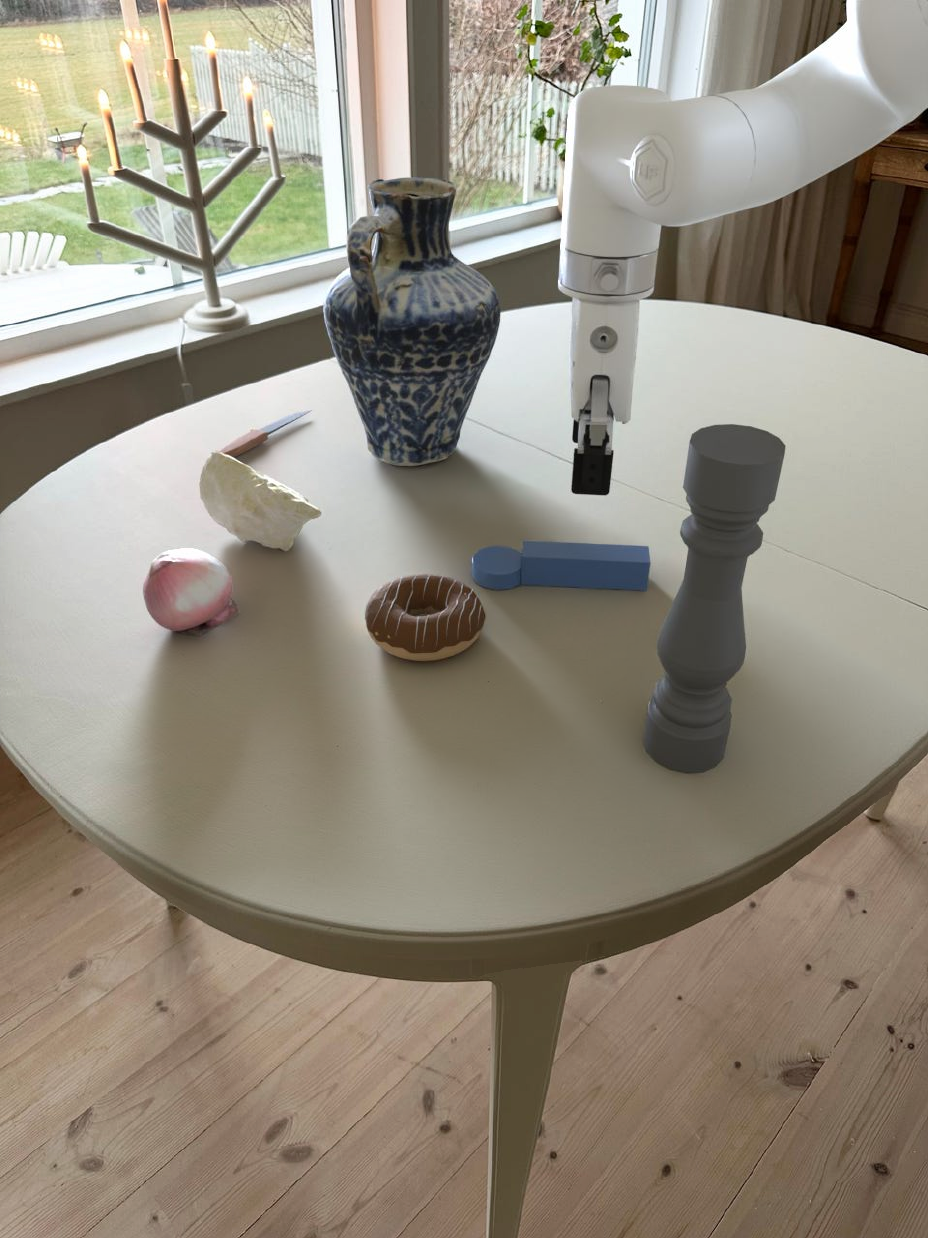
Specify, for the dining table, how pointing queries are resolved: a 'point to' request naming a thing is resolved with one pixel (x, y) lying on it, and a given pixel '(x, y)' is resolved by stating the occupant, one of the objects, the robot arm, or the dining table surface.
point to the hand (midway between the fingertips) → (589, 466)
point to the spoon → (563, 566)
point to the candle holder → (711, 594)
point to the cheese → (252, 503)
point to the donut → (424, 617)
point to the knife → (257, 436)
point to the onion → (189, 592)
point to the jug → (410, 323)
